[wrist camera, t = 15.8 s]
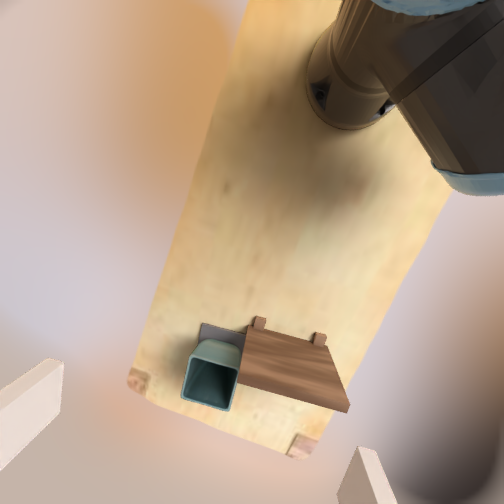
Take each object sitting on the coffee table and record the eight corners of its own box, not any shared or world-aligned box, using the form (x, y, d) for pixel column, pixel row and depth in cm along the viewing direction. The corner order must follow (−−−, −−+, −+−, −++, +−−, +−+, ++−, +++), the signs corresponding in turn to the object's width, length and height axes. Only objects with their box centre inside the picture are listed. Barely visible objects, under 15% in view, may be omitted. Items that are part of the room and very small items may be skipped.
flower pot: (204, 326, 47) (189, 354, 38) (247, 338, 47) (241, 369, 38) (196, 364, 49) (179, 398, 40) (236, 375, 49) (229, 413, 40)
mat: (202, 322, 48) (202, 324, 47) (250, 335, 47) (250, 337, 47) (193, 364, 50) (192, 366, 49) (239, 377, 50) (238, 379, 49)
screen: (251, 314, 47) (242, 360, 33) (330, 335, 46) (355, 391, 32) (244, 340, 48) (233, 395, 34) (321, 362, 47) (341, 426, 34)
